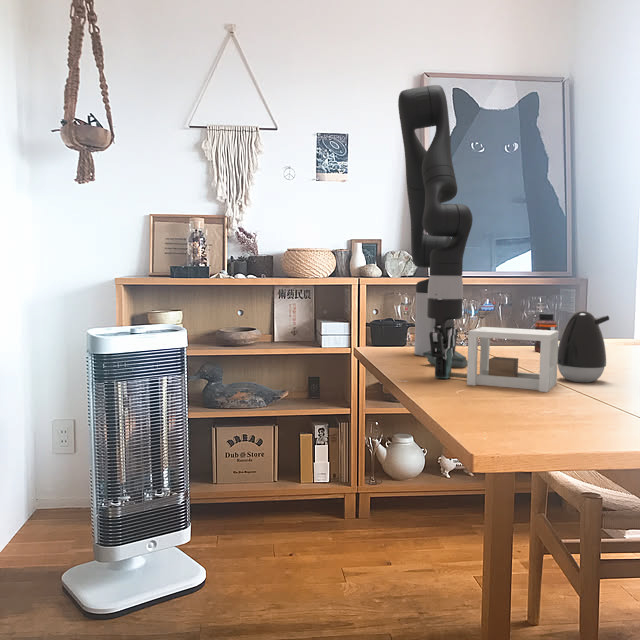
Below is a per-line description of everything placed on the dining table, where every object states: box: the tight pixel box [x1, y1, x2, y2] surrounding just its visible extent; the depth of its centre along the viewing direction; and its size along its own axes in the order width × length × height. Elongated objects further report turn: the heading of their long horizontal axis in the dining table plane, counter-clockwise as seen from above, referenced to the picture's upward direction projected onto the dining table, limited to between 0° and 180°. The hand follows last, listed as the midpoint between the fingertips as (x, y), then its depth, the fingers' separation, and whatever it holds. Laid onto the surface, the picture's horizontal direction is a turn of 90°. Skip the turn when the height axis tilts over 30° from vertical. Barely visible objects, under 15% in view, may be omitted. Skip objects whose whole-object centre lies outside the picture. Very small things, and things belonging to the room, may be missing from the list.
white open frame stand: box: [466, 326, 560, 393], centre depth 146 cm, size 12×16×11 cm
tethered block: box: [434, 349, 519, 380], centre depth 150 cm, size 5×17×6 cm, turn 63°
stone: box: [423, 350, 468, 369], centre depth 173 cm, size 11×4×10 cm
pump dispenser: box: [557, 310, 610, 383], centre depth 152 cm, size 10×10×15 cm
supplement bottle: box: [534, 312, 558, 353], centre depth 205 cm, size 6×6×11 cm
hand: (442, 375), depth 153 cm, fingers closed on tethered block, 3 cm apart
